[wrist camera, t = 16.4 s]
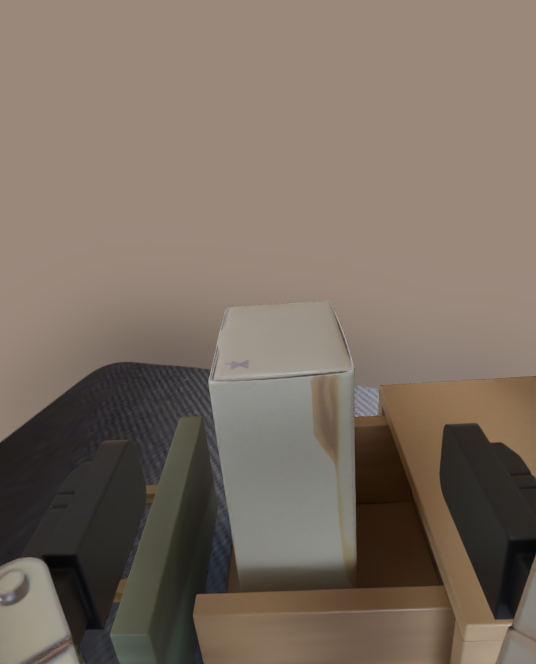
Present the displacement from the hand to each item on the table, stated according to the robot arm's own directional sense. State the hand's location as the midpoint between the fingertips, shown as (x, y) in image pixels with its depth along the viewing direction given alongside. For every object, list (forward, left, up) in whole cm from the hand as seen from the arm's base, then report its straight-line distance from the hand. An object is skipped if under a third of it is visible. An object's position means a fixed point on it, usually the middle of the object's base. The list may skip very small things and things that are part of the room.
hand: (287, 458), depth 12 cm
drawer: (+1, -5, -12) cm, 13 cm away
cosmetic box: (-1, -4, -11) cm, 12 cm away
